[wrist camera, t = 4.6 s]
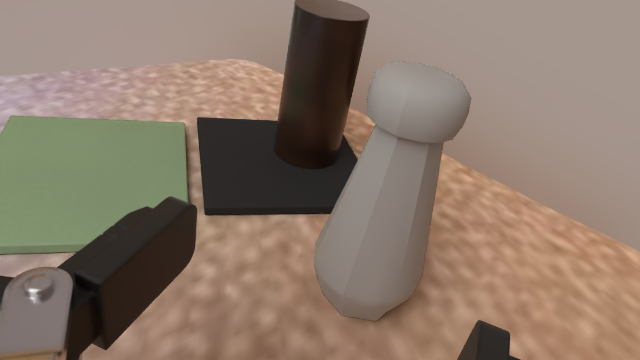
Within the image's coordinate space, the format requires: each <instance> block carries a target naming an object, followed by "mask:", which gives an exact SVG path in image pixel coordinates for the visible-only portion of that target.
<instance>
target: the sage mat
mask: <svg viewBox="0 0 640 360" xmlns="http://www.w3.org/2000/svg"><path fill="white" fill-rule="evenodd" d="M169 196H173V197H175V198H178V199H180V200H183V201H185V202H188V188H187V164H186V140H185V123H181V122H157V121H132V120H108V119H83V118H59V117H35V116H11V117H10V118H9V120H8V122H7V124H6V125H5V127H4V129H3V131H2V133H1V134H0V254H22V253H53V252H78V251H80V250H81V249H82V248H83V247H85V246H86V245H87V244H89V243H90V242H91V241H93V240H94V239H95V238H97V237H98V236H99V235H100V234H101V235H103V232H104V231H106V230H107V229H108V228H110V227H111V226H114V225H115V223H116V222H118V221H119V220H120V219H121V218H123V217H124V216H125V215H127V214H128V213H130V212H133V211H135V210H138V209H141V208H143V207H146V206H148V207H151V208H154V207H156V206H157V205H158V204H159V203H161V202H162V201H163V200H164V199H166V198H167V197H169Z"/></svg>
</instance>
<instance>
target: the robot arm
mask: <svg viewBox="0 0 640 360" xmlns="http://www.w3.org/2000/svg"><path fill="white" fill-rule="evenodd" d="M196 222H197V208H196V206H195V205H193V204H190V203H188V202H185V201H183V200H180V199H178V198H175V197H173V196H169V197H167V198H166V199H164V200H163V201H162V202H161V203H159V204H158V205H157V206H156V207H154V208H151V207H148V206H146V207H143V208H141V209H138V210H135V211H133V212H130V213H128V214H127V215H125V216H124V217H123V218H121V219H120V220H119V221H118V222H116V223H115V225H114V226H111V227H110V228H108V229H107V230H106V231H104V232H103V235H101V234H100V235H99V236H98V237H97V238H95V239H94V240H93V241H91V242H90V243H89V244H87V245H86V246H85V247H83V248H82V249H81V250H80V251H78V252H77V253H76V254H74V255H73V256H72V257H70V258H69V259H68V260H66V261H65V262H64V263H62V264H61V265H60V266H58V267H57V268H55V267H39V268H35V269H31V270H28V271H25V272H23V273H21V274H20V275H18V276H16V277H15V278H13V277H5V276H0V360H82V352H83V351H84V350H85V349H86V348H87V347H88V346H89V345H90V344H91V343H92V344H94V345H96V346H98V347H100V348H102V349H104V350H107V349H108V348H109V347H110V346H111V345H112V344H113V343H114V342H115V341H116V340H117V339H118V338H119V336H120V335H121V334H122V333H123V332H124V331H125V330H126V329H127V328H128V327H129V326H130V325H131V324H132V323H133V322H134V321H135V320H136V319H137V318H138V317H139V316H140V314H141V313H142V312H143V311H144V310H145V309H146V308H147V307H148V306H149V305H150V304H151V303H152V302H153V301H154V300H155V299H156V298H157V297H158V296H159V295H160V294H161V293H162V291H163V290H164V289H165V288H166V287H167V286H168V285H169V284H170V283H171V282H172V281H173V280H174V279H175V278H176V277H177V276H178V275H179V274H180V273H181V272H182V271H183V269H184V268H185V267H186V266H187V265H188V263H189V262H190V260H191V258H192V256H193V253H194V250H195V241H196ZM509 349H510V333H509V332H508V331H506V330H503V329H501V328H498V327H496V326H493V325H491V324H488V323H486V322H483V321H481V320H479V321H478V322H477V323H476V325H475V326H474V328H473V330H472V332H471V334H470V336H469V338H468V340H467V342H466V344H465V345H464V347H463V349H462V351H461V353H460V355H459V357H458V359H457V360H520V359H517V358H515V357H512V356H510V355H509Z"/></svg>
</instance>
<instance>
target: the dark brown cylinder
mask: <svg viewBox="0 0 640 360" xmlns="http://www.w3.org/2000/svg"><path fill="white" fill-rule="evenodd" d="M369 18H370V16H369V14H368V13H367V12H366V11H365V10H363V9H361V8H359V7H357V6H354V5H352V4H348V3H346V2H342V1H338V0H295V3H294V10H293V17H292V24H291V31H290V38H289V45H288V53H287V60H286V66H285V73H284V80H283V87H282V94H281V101H280V108H279V115H278V122H277V129H276V136H275V143H274V151H275V153H276V154H277V156H278V157H279V158H281V159H282V160H283V161H285V162H287V163H289V164H291V165H294V166H297V167H300V168H306V169H322V168H326V167H329V166H331V165H333V164H334V163H335V162H336V161H337V158H338V154H339V149H340V145H341V140H342V136H343V132H344V127H345V123H346V119H347V114H348V110H349V105H350V101H351V97H352V92H353V87H354V83H355V79H356V74H357V70H358V65H359V61H360V57H361V53H362V47H363V44H364V39H365V35H366V31H367V26H368V22H369Z"/></svg>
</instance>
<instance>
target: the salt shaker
mask: <svg viewBox="0 0 640 360" xmlns="http://www.w3.org/2000/svg"><path fill="white" fill-rule="evenodd" d="M470 103H471V97H470V95H469V93H468V91H467V89H466V87H465V85H464V83H463V81H461V80H460V79H459V78H457V77H456V76H454V75H453V74H451V73H449V72H446V71H444V70H442V69H439V68H437V67H434V66H430V65H426V64H422V63H413V62H405V61H403V62H393V63H390V64H388V65H386V66H385V67H383V68H381V69H380V70H378V71H377V72H375V74H374V77H373V79H372V81H371V83H370V86H369V90H368V96H367V111H368V117H369V118H370V119H371V120H372V121H373V122H374V123H375V124H376V125H375V127H374V129H373V131H372V133H371V135H370V137H369V139H368V141H367V143H366V145H365V147H364V149H363V151H362V153H361V155H360V157H359V159H358V161H357V163H356V165H355V167H354V169H353V171H352V173H351V175H350V177H349V179H348V181H347V183H346V185H345V187H344V189H343V191H342V193H341V195H340V196H339V198H338V200H337V202H336V204H335V206H334V208H333V210H332V212H331V214H330V216H329V218H328V220H327V222H326V224H325V226H324V228H323V230H322V232H321V234H320V236H319V238H318V240H317V242H316V248H315V257H314V267H315V271H316V274H317V277H318V280H319V284H320V287H321V290H322V293H323V294H324V295H325V296H326V297H327V299H328V300H329V301H330V302H331V303H332V304H333V306H334V307H335V308H336V309H337V310H338V311H339V313H340V314H341V315H342V316H347V317H353V318H359V319H366V320H372V321H377V320H378V319H379V318H380V317H381V316H382V315H384V314H385V313H386V312H387V311H389V310H391V309H392V308H394V307H396V306H397V305H399V304H401V303H402V302H404V301H406V300H408V299H409V298H410V297H411V296H412V294H413V292H414V291H415V289H416V287H417V285H418V283H419V282H420V280H421V278H422V275H423V269H424V262H425V256H426V250H427V244H428V237H429V231H430V225H431V218H432V212H433V206H434V200H435V193H436V187H437V181H438V174H439V168H440V162H441V156H442V149H443V143H444V142H445V141H449V140H452V139H453V138H454V137H455V136H456V134H457V133H458V132H459V130H460V129H461V128H462V127H463V125H464V122H465V120H466V118H467V116H468V113H469V108H470Z"/></svg>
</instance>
